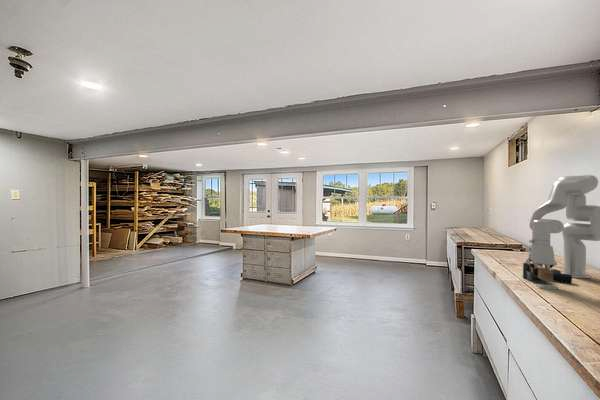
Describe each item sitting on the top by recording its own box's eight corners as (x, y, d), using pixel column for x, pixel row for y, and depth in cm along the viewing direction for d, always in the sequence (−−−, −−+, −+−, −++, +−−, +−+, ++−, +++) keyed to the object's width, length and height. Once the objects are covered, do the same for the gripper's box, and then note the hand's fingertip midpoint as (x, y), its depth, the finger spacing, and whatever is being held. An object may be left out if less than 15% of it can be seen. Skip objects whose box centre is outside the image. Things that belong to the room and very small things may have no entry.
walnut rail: (529, 272, 162) (529, 264, 162) (537, 273, 161) (538, 264, 161) (543, 280, 147) (543, 271, 147) (553, 281, 146) (553, 271, 146)
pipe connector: (539, 266, 172) (573, 271, 161) (539, 275, 172) (573, 280, 161) (535, 270, 165) (570, 275, 153) (535, 279, 165) (570, 285, 153)
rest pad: (536, 286, 151) (536, 284, 151) (554, 287, 148) (554, 285, 148) (540, 288, 147) (540, 286, 147) (559, 289, 144) (559, 287, 144)
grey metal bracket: (522, 278, 165) (522, 262, 165) (541, 279, 163) (541, 263, 162) (528, 281, 158) (528, 265, 158) (548, 283, 156) (548, 266, 156)
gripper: (525, 243, 153) (525, 276, 153) (564, 244, 148) (563, 279, 148) (519, 240, 160) (519, 273, 160) (556, 242, 155) (555, 275, 155)
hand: (540, 275), depth 154 cm, fingers closed on walnut rail, 4 cm apart
